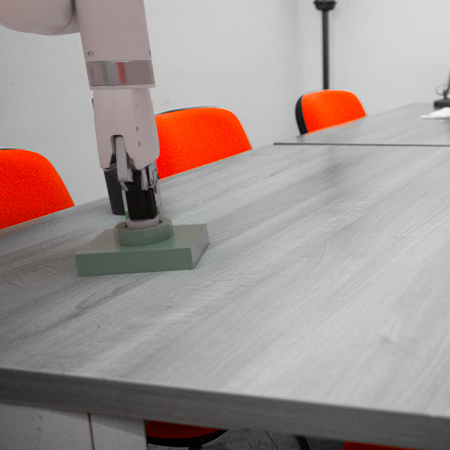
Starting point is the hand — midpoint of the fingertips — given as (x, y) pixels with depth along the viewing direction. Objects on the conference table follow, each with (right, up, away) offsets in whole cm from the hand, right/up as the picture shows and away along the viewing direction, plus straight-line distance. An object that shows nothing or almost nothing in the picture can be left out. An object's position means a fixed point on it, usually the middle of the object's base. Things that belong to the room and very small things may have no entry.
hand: (143, 217), depth 76 cm
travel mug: (-14, +2, +27) cm, 31 cm away
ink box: (-9, 0, +21) cm, 22 cm away
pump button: (0, -2, +1) cm, 2 cm away
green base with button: (0, -6, +2) cm, 6 cm away
